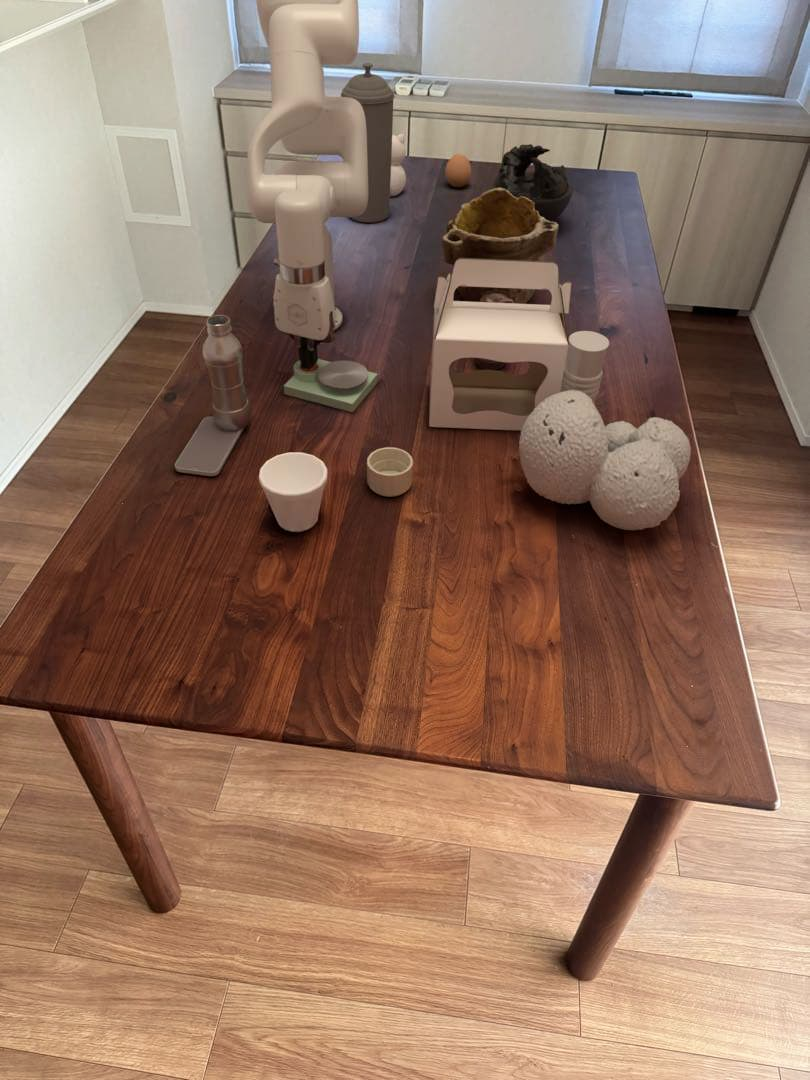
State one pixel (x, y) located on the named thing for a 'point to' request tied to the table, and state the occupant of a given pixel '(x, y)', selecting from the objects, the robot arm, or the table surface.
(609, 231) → the table surface
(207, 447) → the smartphone
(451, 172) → the egg
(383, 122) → the canister
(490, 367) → the can
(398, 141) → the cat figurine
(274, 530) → the table surface
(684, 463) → the grey lumpy cluster
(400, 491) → the bowl
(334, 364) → the scale plate
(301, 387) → the scale
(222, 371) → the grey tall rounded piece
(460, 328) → the cardboard gift box
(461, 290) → the ceramic vessel
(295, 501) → the cup
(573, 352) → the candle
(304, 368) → the button
